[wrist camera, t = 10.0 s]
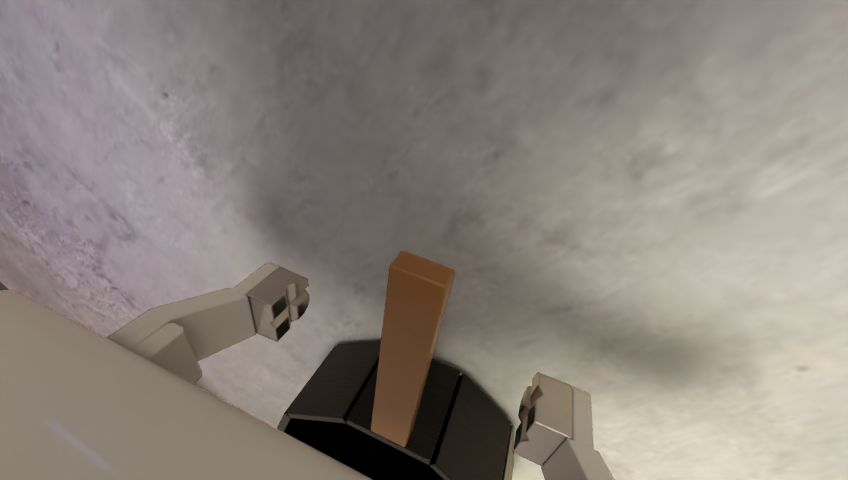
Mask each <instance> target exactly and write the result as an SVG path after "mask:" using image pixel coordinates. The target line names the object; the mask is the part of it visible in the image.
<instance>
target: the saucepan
mask: <svg viewBox="0 0 848 480" xmlns="http://www.w3.org/2000/svg"><path fill="white" fill-rule="evenodd" d="M454 275H455V270H453V269H452V268H449V267H446V266H443V265H441V264H438V263H435V262H432V261H430V260H427V259H424V258H421V257H419V256H416V255H413V254H410V253H408V252H405V251H401V252H400V253H399V255H398V256H397V257H396V259H395V260H394V261H393V262H392V264H391V265H390V268H389V277H388V285H387V294H386V303H385V311H384V320H383V328H382V337H381V341H380V342H366V343H351V344H338V345H337V346H335V347H334V348H333V349H332V351H331V352H330V353H329V355H328V356H327V357H326V359H325V360H324V361H323V363H322V364H321V365H320V367H319V368H318V369H317V371H316V372H315V373H314V375H313V376H312V377H311V379H310V380H309V381H308V383H307V384H306V385H305V386H304V388H303V389H302V390H301V392H300V393H299V394H298V396H297V397H296V398H295V400H294V401H293V402H292V404H291V405H290V406H289V408H288V409H287V410H286V412H285V413H284V415H283V417H282V419H281V421H280V423H279V425H278V427H277V429H279V430H281V431H283V432H284V433H286V434H288V435H290V436H292V437H294V438H296V439H298V440H299V441H301V442H303V443H305V444H307V445H309V446H311V447H312V448H314V449H316V450H318V451H320V452H322V453H324V454H326V455H327V456H329V457H331V458H333V459H335V460H337V461H339V462H341V463H342V464H344V465H346V466H348V467H350V468H352V469H354V470H356V471H357V472H359V473H361V474H363V475H365V476H367V477H369V478H371V479H372V480H512V473H513V466H514V458H513V426H512V425H511V422H510V421H509V420H508V419H507V418H506V417H505V416H504V415H503V414H502V413H501V411H500V410H499V409H498V408H497V407H496V406H495V405H494V404H493V403H492V402H491V401H490V400H489V399H488V398H487V397H486V396H485V395H484V394H483V393H482V392H481V391H480V390H479V389H478V388H477V387H476V385H475V384H474V383H473V382H472V381H471V380H470V379H469V378H468V377H467V376H466V375H465V374H462V375H460V371H459V370H456V369H454V368H452V367H449V366H447V365H445V364H443V363H440V362H438V361H436V360H433V359H432V356H433V352H434V349H435V345H436V341H437V338H438V334H439V330H440V327H441V323H442V319H443V315H444V312H445V308H446V304H447V301H448V297H449V293H450V290H451V286H452V282H453V279H454Z"/></svg>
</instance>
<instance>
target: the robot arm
mask: <svg viewBox="0 0 848 480" xmlns="http://www.w3.org/2000/svg"><path fill="white" fill-rule="evenodd" d="M308 286H309V285H308V279H307V278H305V277H303V276H301V275H298V274H296V273H294V272H292V271H289V270H287V269H285V268H283V267H280V266H278V265H275V264H273V263H271V262H270V263H266V264H264V265H263V266H262V267H260V268H259V269H258V270H256V271H255V272H254V273H252V274H251V275H250V276H249V277H247V278H246V279H245V280H243V281H242V282H241V283H239V284H238V285H237V286H235V287H234V288H233V289H230V288H226V289H222V290H218V291H215V292H211V293H207V294H204V295H200V296H196V297H192V298H189V299H185V300H181V301H178V302H174V303H170V304H166V305H163V306H159V307H155V308H152V309H149V310H147V311H146V312H144V313H143V314H141V315H140V316H138V317H137V318H135V319H134V320H132V321H131V322H129V323H128V324H126V325H125V326H123V327H122V328H120V329H119V330H117V331H116V332H114V333H113V334H111V335H110V336H108V337H107V338H106V337H104V336H102V335H101V334H99V333H97V332H95V331H93V330H91V329H89V328H87V327H85V326H84V325H82V324H80V323H78V322H76V321H74V320H72V319H70V318H69V317H67V316H65V315H63V314H61V313H59V312H57V311H55V310H53V309H52V308H50V307H48V306H46V305H44V304H42V303H40V302H39V301H37V300H35V299H33V298H31V297H30V296H28V295H26V294H23V293H21V292H18V291H13V290H1V291H0V480H372V479H371V478H369V477H367V476H365V475H363V474H361V473H359V472H357V471H356V470H354V469H352V468H350V467H348V466H346V465H344V464H342V463H341V462H339V461H337V460H335V459H333V458H331V457H329V456H327V455H326V454H324V453H322V452H320V451H318V450H316V449H314V448H312V447H311V446H309V445H307V444H305V443H303V442H301V441H299V440H298V439H296V438H294V437H292V436H290V435H288V434H286V433H284V432H283V431H281V430H279V429H277V428H275V427H273V426H271V425H269V424H268V423H266V422H264V421H262V420H260V419H258V418H256V417H254V416H252V415H251V414H249V413H247V412H245V411H243V410H241V409H239V408H237V407H236V406H234V405H232V404H230V403H228V402H226V401H224V400H222V399H221V398H219V397H217V396H215V395H213V394H211V393H209V392H207V391H206V390H204V389H202V388H200V387H198V386H196V385H194V383H195V382H197V381H198V380H199V379H200V378H201V377H202V370H201V368H200V366H199V363H198V361H199V360H201V359H204V358H206V357H208V356H210V355H212V354H214V353H217V352H219V351H221V350H223V349H225V348H227V347H230V346H232V345H234V344H236V343H238V342H241V341H243V340H245V339H247V338H249V337H251V336H254V335H256V333H258V334H260V335H262V336H265V337H267V338H269V339H272V340H274V341H276V342H277V341H278V340H279V339H280V338H281V337H282V336H283V335H284V334H285V333H286V332H287V331H288V330H289V329H290V326H291V322H292V321H294V320H297V319H299V318H300V317H301V316H302V315H303V314H304V312H305V311H306V309H307V307H308V304H309V300H310V299H309V294H308V292H307V290H306V288H307V287H308ZM518 416H519V419H520V421H521V424H520V425H519V427H518V428H517V430H516V436H515V443H514V451H513V452H514V453H516V454H518V455H520V456H522V457H524V458H526V459H528V460H530V461H532V462H534V463H536V464H538V465H540V466H542V467H541V469H542V472H543V475H544V477H545V480H614V478H613V476H612V474H611V472H610V471H609V469H608V467H607V465H606V464H605V462H604V460H603V458H602V456H601V455H600V453H599V452H598V451H596V450H594V448H593V428H592V407H591V396H590V394H589V393H588V392H585V391H583V390H580V389H578V388H575V387H573V386H570V385H569V384H566V383H564V382H561V381H559V380H556V379H554V378H551V377H549V376H546V375H544V374H541V373H539V372H537V373H536V374H535V375H534V377H533V379H532V386H528V387H527V389H526V391H525V392H524V395H523V398H522V400H521V404H520V409H519V415H518Z"/></svg>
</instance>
